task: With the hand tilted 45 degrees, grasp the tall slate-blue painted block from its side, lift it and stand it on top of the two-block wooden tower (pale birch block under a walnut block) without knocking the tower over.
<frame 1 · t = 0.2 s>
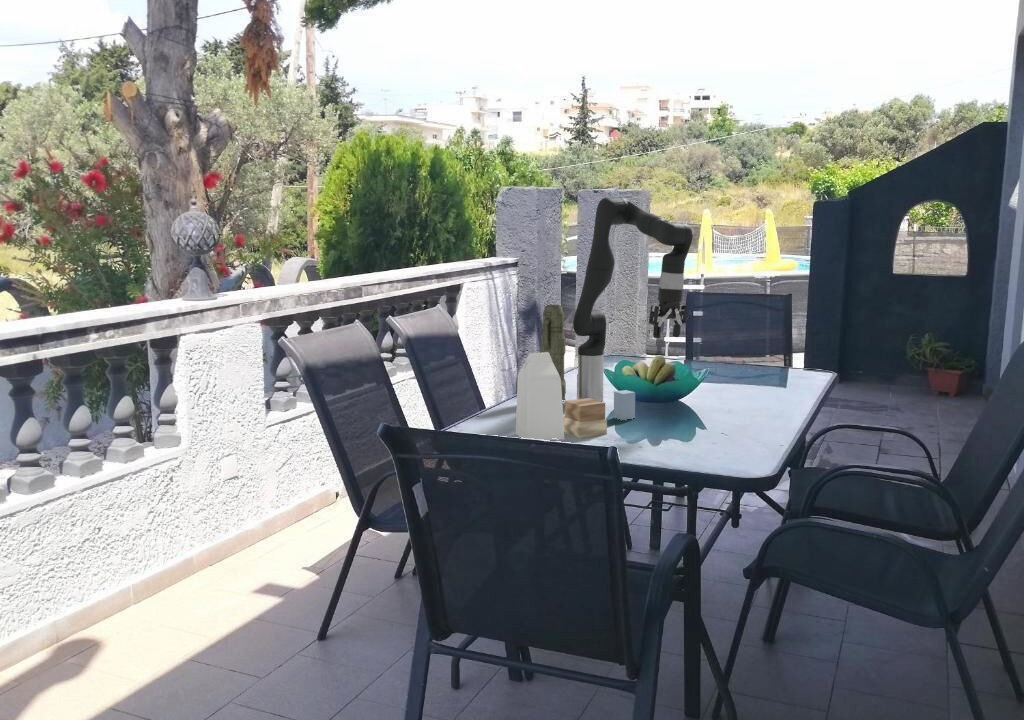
hand: (666, 337, 288), 28 cm above the table, tool pointing down, fingers open, 8 cm apart
tower bottom block: (584, 433, 282), on the table, touching tower top block
tower top block: (585, 417, 281), point 5 cm above the table, touching tower bottom block
milk: (539, 437, 277), on the table
slate block: (624, 418, 301), on the table
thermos: (553, 400, 332), on the table
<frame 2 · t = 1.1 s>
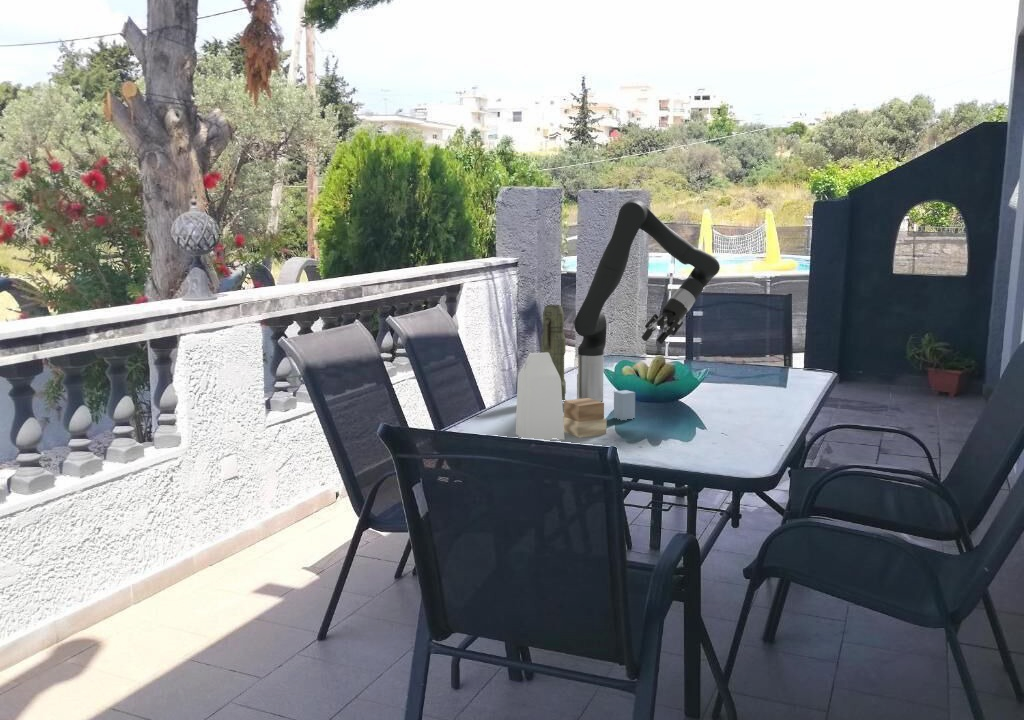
hand: (651, 341, 302), 25 cm above the table, tool tilted 45°, fingers open, 8 cm apart
nothing on the table moved.
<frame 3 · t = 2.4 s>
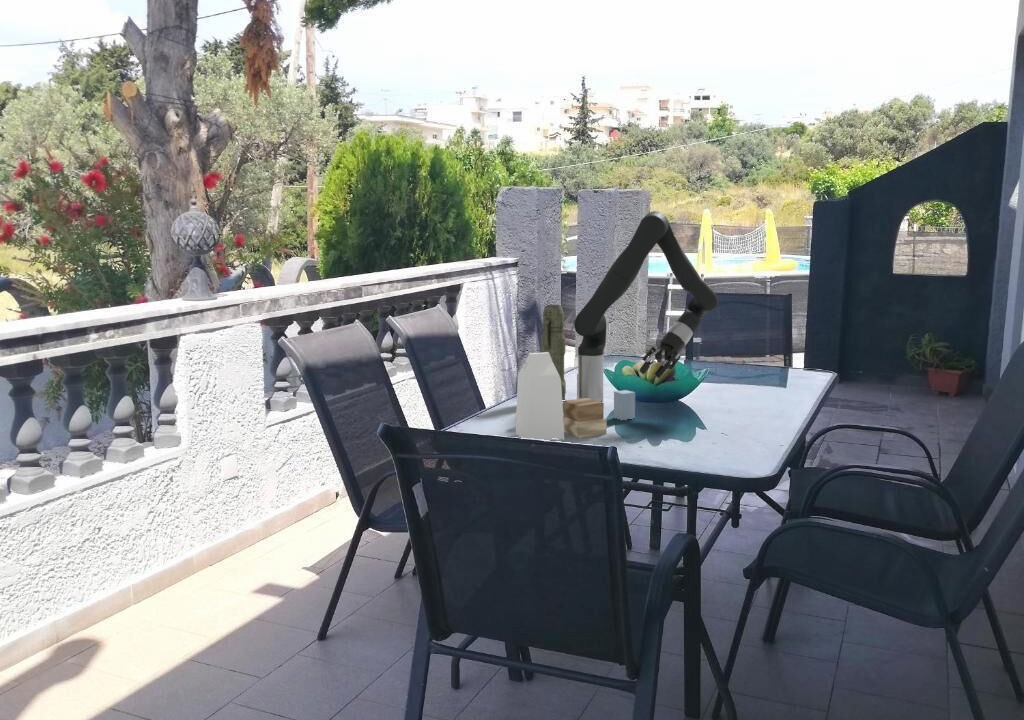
hand: (648, 374, 303), 14 cm above the table, tool tilted 45°, fingers open, 8 cm apart
nothing on the table moved.
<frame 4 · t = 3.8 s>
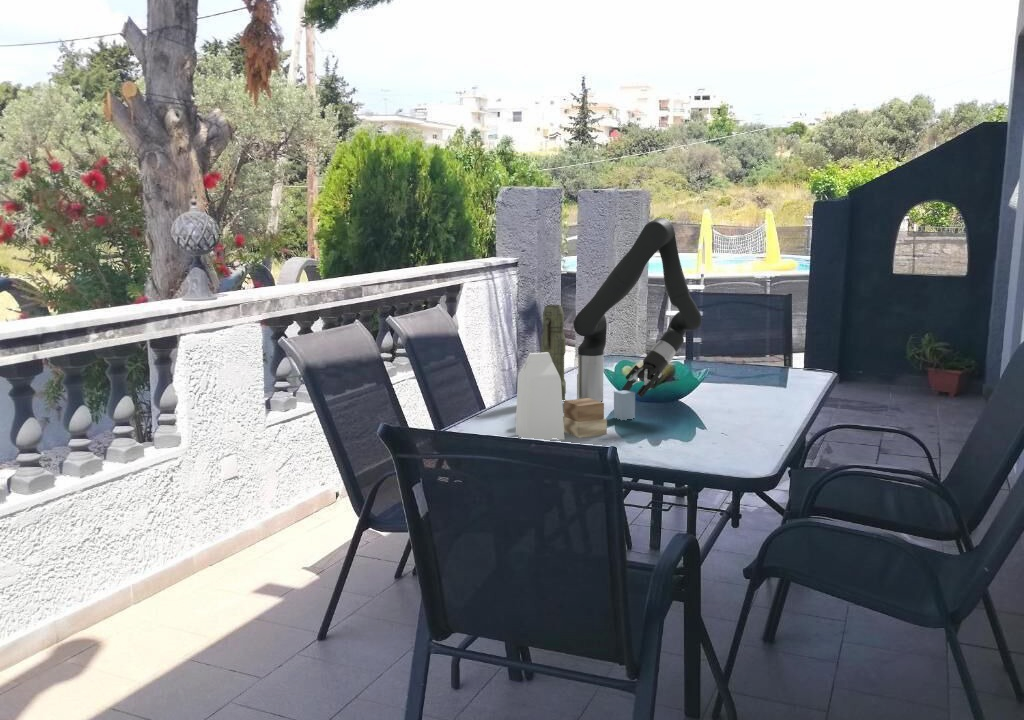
hand: (631, 393, 301), 8 cm above the table, tool tilted 45°, fingers open, 8 cm apart
nothing on the table moved.
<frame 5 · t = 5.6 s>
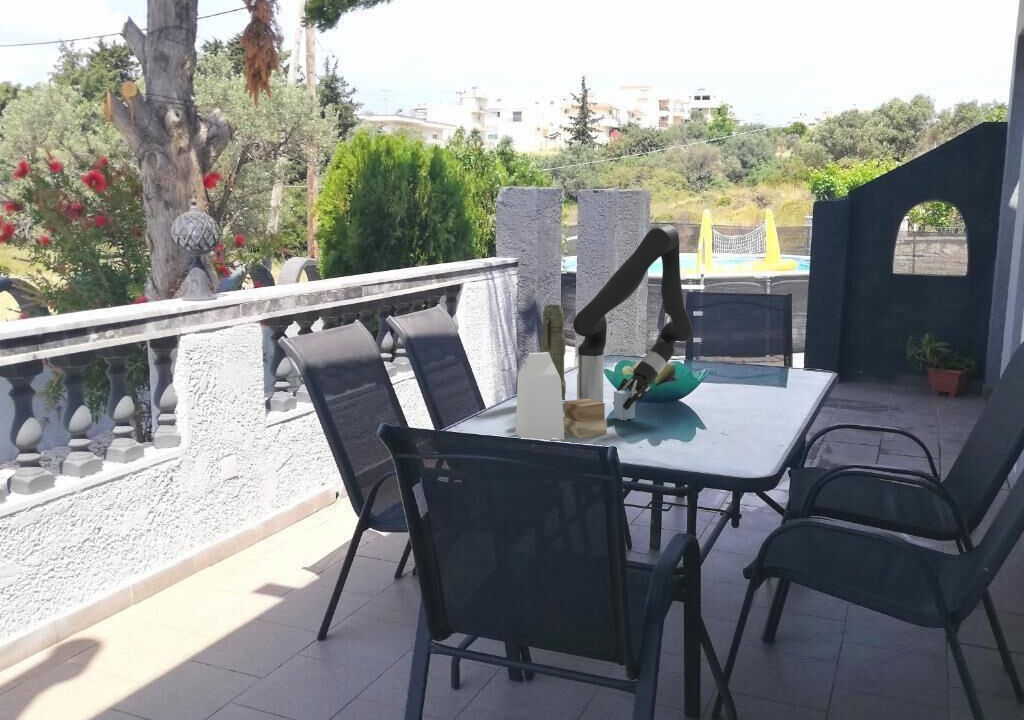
hand: (619, 406, 299), 4 cm above the table, tool tilted 45°, fingers closed on slate block, 5 cm apart
slate block: (624, 418, 301), on the table, touching gripper
everything else where it was.
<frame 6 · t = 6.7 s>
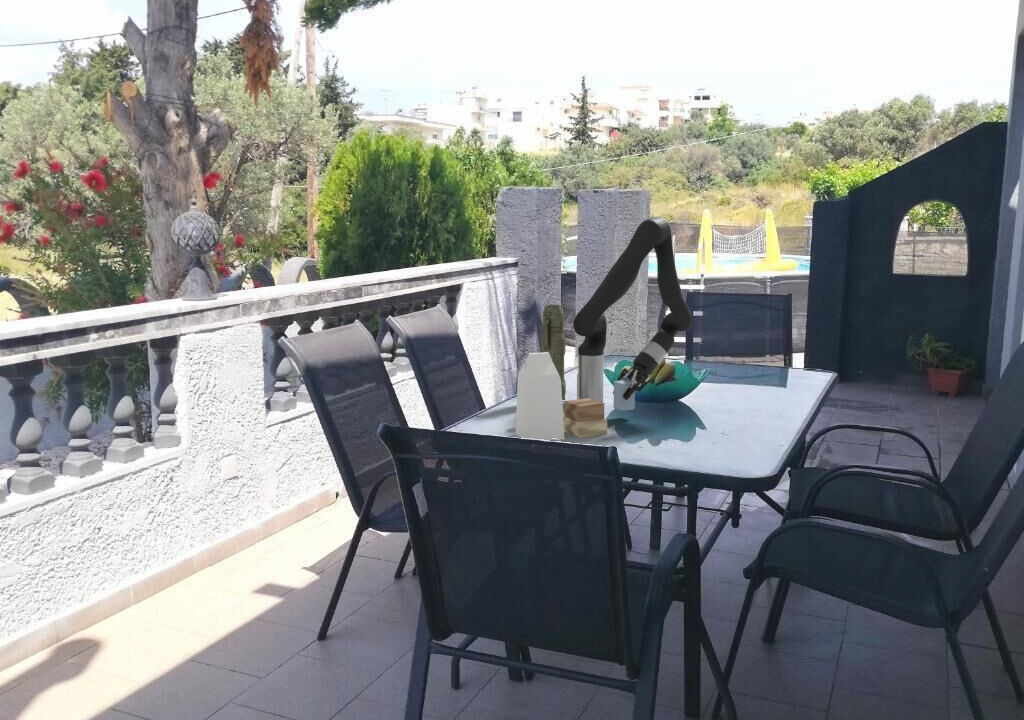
hand: (619, 396, 299), 8 cm above the table, tool tilted 45°, fingers closed on slate block, 5 cm apart
slate block: (623, 408, 300), point 3 cm above the table, touching gripper
everything else where it was.
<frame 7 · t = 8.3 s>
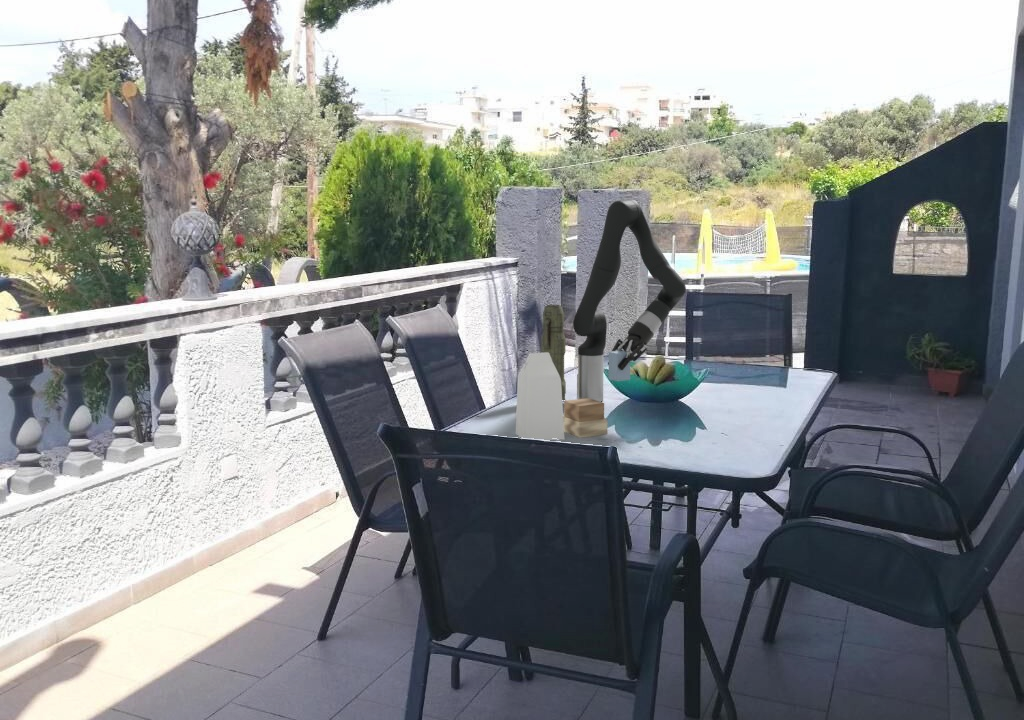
hand: (614, 367, 294), 18 cm above the table, tool tilted 45°, fingers closed on slate block, 5 cm apart
slate block: (619, 379, 295), point 14 cm above the table, touching gripper
everything else where it was.
when the fingers open (15 cm above the table, at t = 10.5 s): slate block drops 1 cm, resting on tower top block.
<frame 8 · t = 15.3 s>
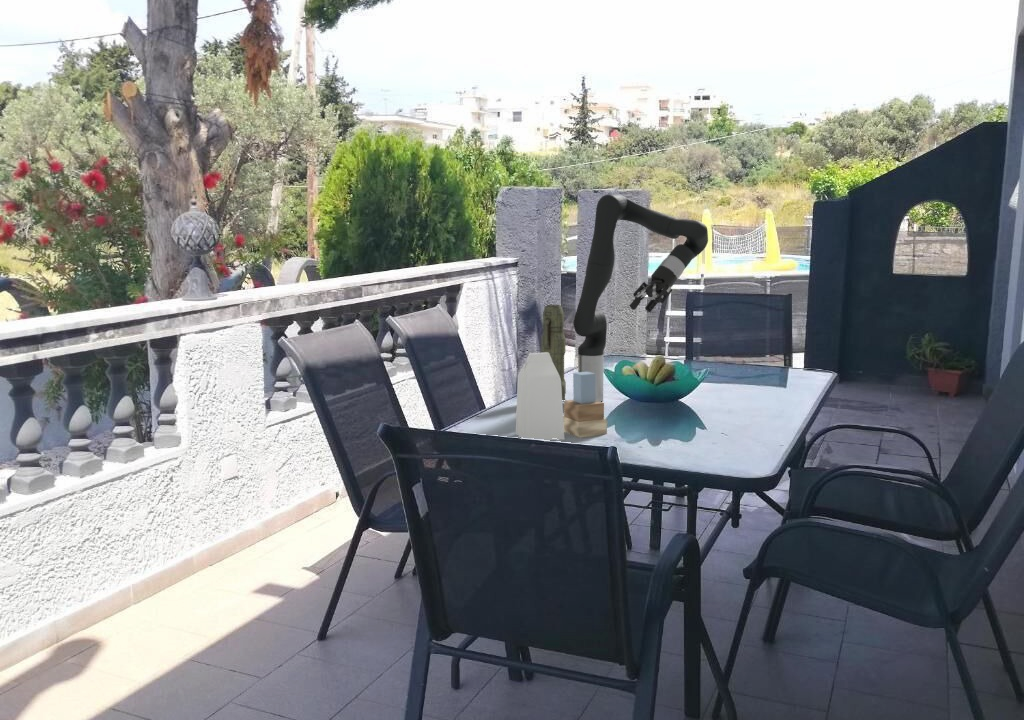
hand: (639, 309, 293), 37 cm above the table, tool tilted 45°, fingers open, 8 cm apart
tower top block: (583, 417, 281), point 5 cm above the table, touching slate block, tower bottom block
slate block: (584, 401, 280), point 10 cm above the table, touching tower top block
everything else where it was.
at the end: slate block inside the target area on the tower top block (0.1 cm from its centre), point 5.0 cm above the tower top block's base; slate block tilted 1°; tower top block moved 0.4 cm from its start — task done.
